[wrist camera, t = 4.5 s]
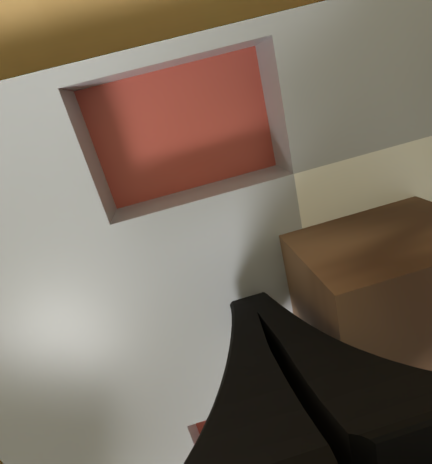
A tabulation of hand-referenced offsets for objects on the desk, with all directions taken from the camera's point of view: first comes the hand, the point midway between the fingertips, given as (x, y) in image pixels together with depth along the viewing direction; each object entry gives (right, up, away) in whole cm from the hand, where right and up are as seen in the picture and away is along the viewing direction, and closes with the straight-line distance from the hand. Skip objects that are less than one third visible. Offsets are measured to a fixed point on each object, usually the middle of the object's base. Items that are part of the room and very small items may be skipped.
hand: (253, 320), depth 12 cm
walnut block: (+4, +1, +1) cm, 4 cm away
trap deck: (-1, +1, +2) cm, 3 cm away
